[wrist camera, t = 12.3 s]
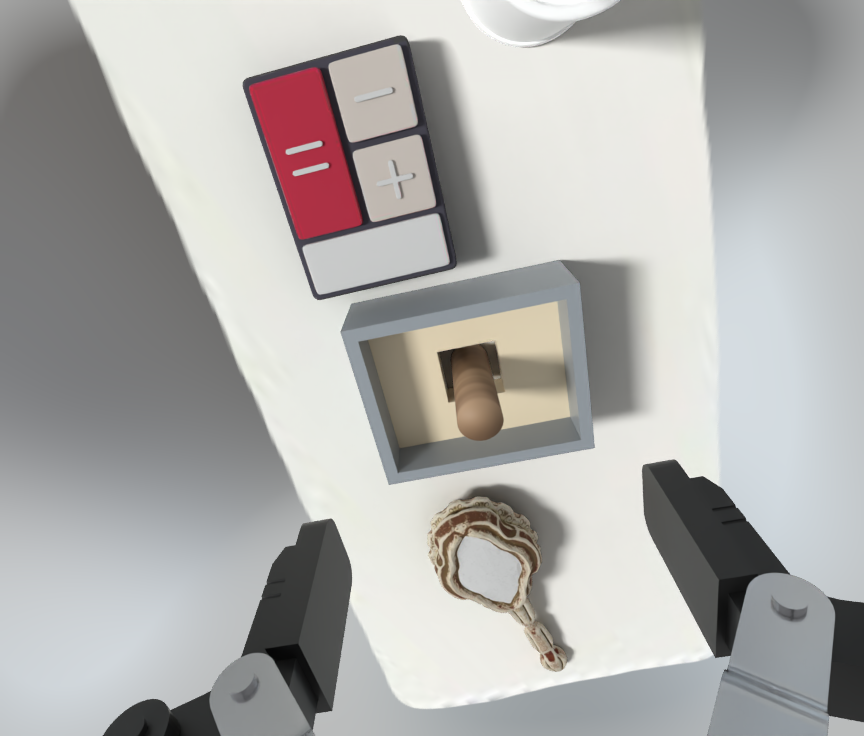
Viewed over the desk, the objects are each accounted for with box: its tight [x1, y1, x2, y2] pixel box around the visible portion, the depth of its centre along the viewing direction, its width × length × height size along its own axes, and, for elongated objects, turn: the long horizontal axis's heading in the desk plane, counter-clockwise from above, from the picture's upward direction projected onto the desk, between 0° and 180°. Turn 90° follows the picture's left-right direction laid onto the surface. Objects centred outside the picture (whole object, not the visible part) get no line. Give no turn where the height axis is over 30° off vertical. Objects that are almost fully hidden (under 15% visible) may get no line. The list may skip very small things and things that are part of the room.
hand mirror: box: [427, 497, 567, 672], centre depth 55 cm, size 11×6×30 cm
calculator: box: [243, 36, 457, 300], centre depth 37 cm, size 11×4×15 cm
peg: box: [451, 344, 504, 441], centre depth 40 cm, size 3×3×10 cm
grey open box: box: [341, 260, 595, 485], centre depth 42 cm, size 14×17×6 cm
